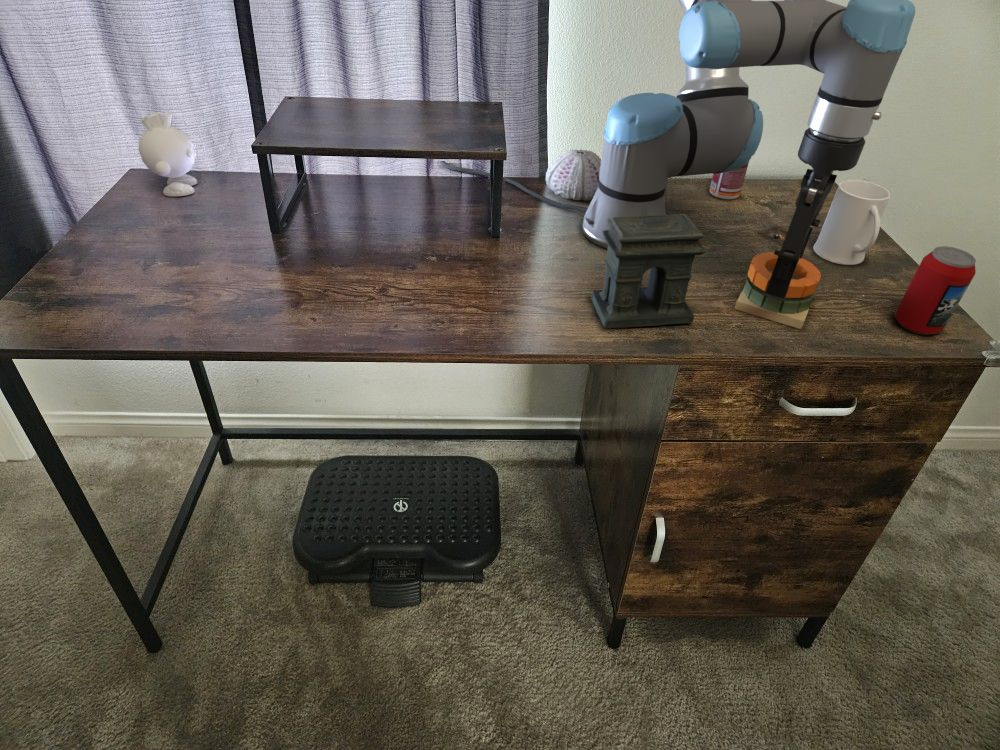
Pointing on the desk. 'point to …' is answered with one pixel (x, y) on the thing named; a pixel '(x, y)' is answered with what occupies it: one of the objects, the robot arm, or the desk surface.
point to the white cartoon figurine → (168, 153)
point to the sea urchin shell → (575, 174)
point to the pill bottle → (728, 183)
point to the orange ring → (797, 287)
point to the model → (634, 252)
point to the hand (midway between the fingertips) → (782, 278)
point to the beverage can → (936, 290)
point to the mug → (852, 222)
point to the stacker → (774, 305)
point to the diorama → (779, 236)
